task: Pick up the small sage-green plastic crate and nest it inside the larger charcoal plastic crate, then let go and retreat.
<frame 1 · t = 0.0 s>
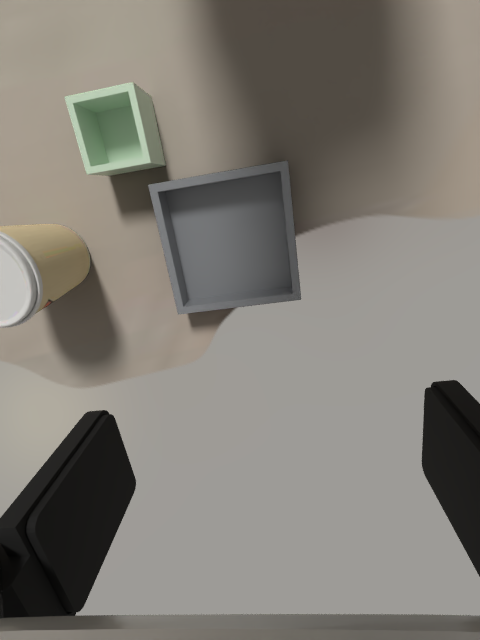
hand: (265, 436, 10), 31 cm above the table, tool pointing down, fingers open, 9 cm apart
coffee cup: (61, 256, 42), on the table
large crate: (231, 239, 39), on the table
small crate: (129, 137, 36), on the table
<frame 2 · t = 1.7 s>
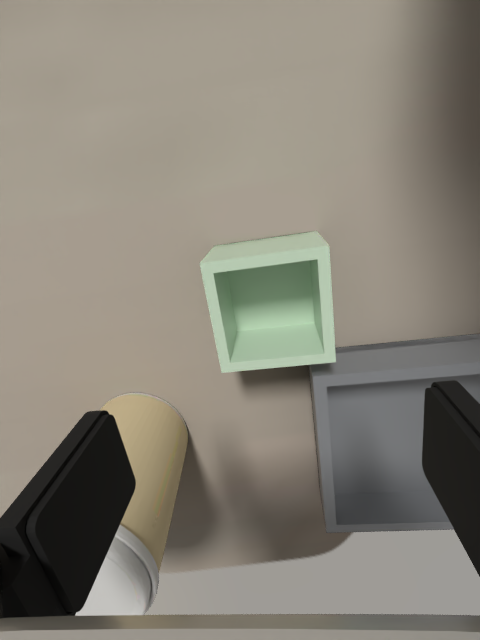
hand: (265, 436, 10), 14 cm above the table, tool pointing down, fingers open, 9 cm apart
coffee cup: (144, 429, 29), on the table
large crate: (407, 422, 26), on the table
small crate: (270, 287, 23), on the table
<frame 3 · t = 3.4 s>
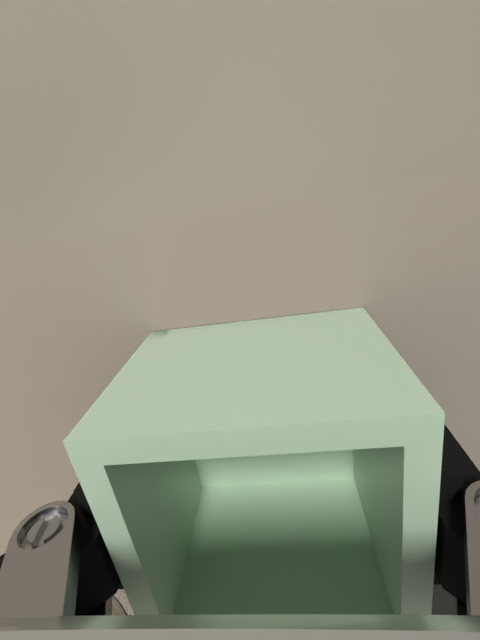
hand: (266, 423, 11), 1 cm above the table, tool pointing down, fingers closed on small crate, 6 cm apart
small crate: (266, 409, 12), on the table, touching gripper
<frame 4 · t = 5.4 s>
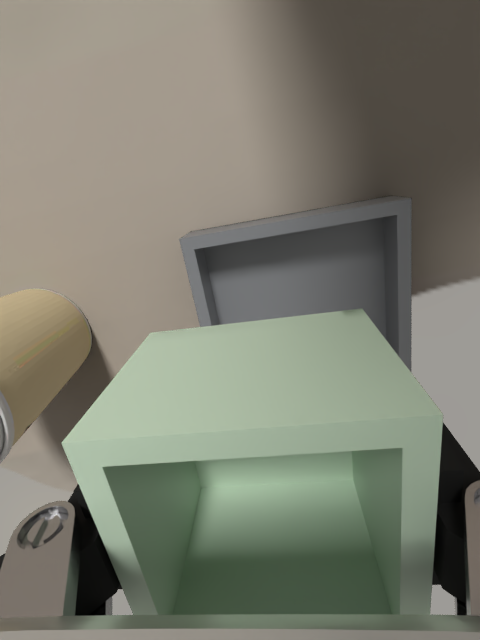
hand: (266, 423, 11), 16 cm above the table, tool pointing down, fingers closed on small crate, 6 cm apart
coffee cup: (49, 330, 29), on the table
large crate: (298, 307, 26), on the table
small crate: (265, 410, 12), point 16 cm above the table, touching gripper
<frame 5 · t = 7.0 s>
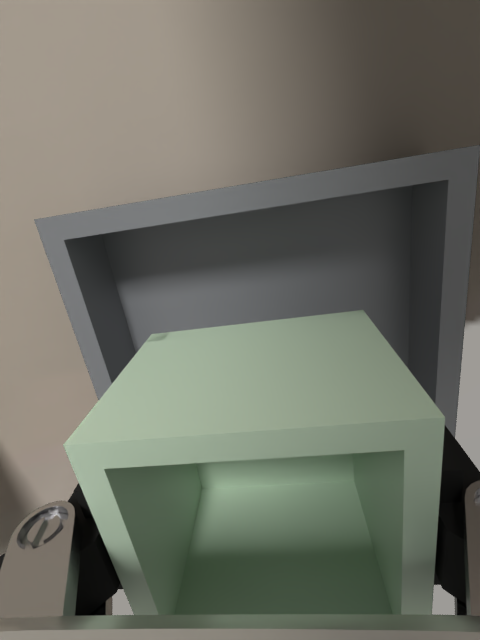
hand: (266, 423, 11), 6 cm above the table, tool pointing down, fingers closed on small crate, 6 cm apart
large crate: (266, 340, 16), on the table
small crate: (266, 411, 12), point 5 cm above the table, touching gripper
when the fingers open (4 cm above the table, at t = 7.9 s): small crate drops 2 cm, resting on large crate.
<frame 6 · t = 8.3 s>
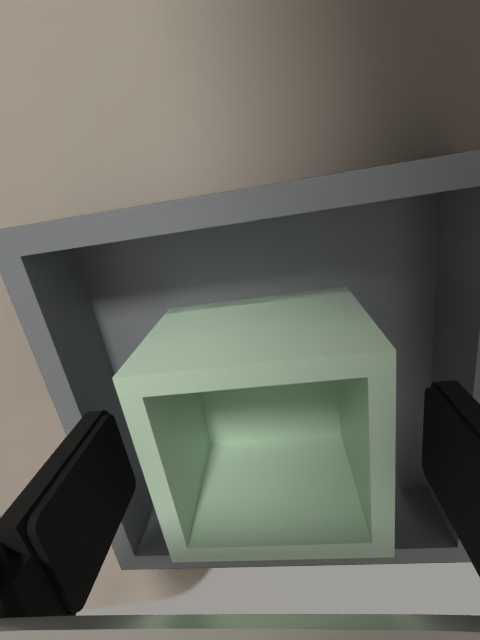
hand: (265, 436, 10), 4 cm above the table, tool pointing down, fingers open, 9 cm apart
large crate: (266, 366, 14), on the table
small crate: (266, 375, 14), point 1 cm above the table, touching large crate
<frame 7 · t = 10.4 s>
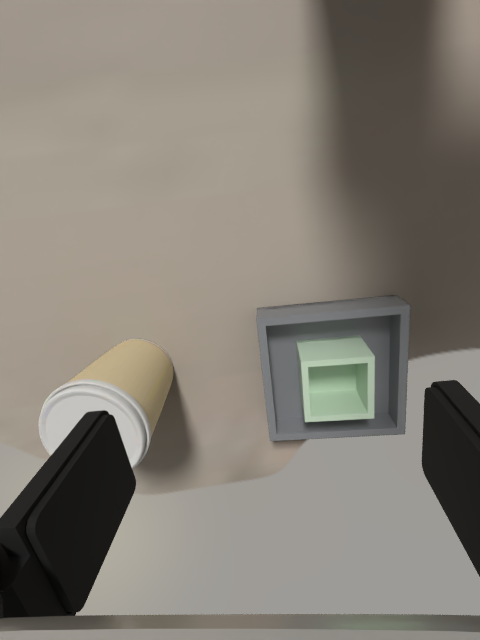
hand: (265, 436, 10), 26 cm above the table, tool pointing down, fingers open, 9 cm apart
coffee cup: (141, 368, 39), on the table
large crate: (327, 363, 37), on the table
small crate: (329, 366, 36), point 1 cm above the table, touching large crate
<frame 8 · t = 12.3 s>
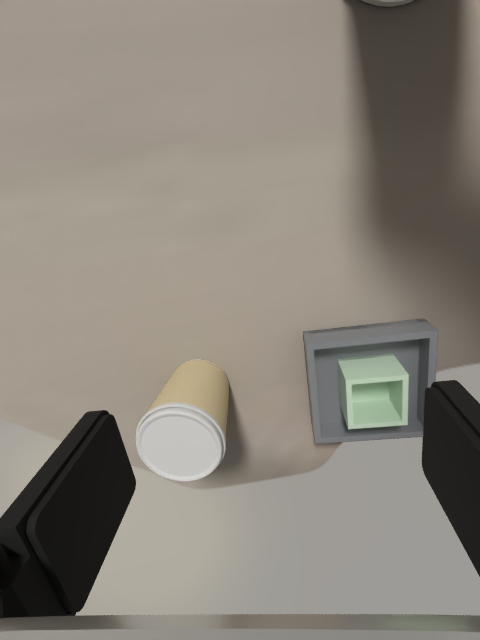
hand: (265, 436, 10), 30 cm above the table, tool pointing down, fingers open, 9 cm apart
coffee cup: (201, 383, 46), on the table
large crate: (363, 376, 43), on the table
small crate: (365, 379, 42), point 1 cm above the table, touching large crate
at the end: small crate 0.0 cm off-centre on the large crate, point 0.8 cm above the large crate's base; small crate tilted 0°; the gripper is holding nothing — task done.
